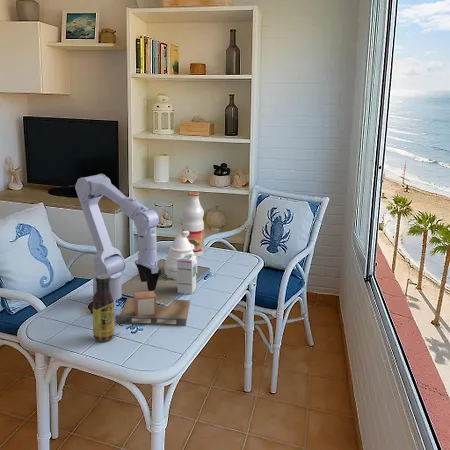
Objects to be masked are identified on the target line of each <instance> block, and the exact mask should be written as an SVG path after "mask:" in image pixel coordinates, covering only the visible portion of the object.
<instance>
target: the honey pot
mask: <svg viewBox="0 0 450 450" xmlns="http://www.w3.org/2000/svg"><path fill="white" fill-rule="evenodd" d="M188 235H189V231H183V230H182V234H181V233H180V234H178V235H177V236H176V237H175V238H174V240H173V241H172V243H171V244H169V246H168V249H169V250H168V253H167V256H166V259H165V261H164V274H165V273H166V274H167V275H169V276H172V277H177V259H178V258H179V257H180V256H181V254H193V255H195V254H194V252H193V249H194V245H193V244H191V243H190V242H189V241H188V239H187V238H186V237H187V236H188ZM196 273H197V274H198V259H196Z"/></svg>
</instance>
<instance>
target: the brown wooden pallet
mask: <svg viewBox="0 0 450 450" xmlns="http://www.w3.org/2000/svg"><path fill="white" fill-rule="evenodd" d="M172 300H173V301H172V302H171V303H170V304H169V305H168V306H159V305H156V316H136V315H135V310H134V297H127V298H126V301H125V303H124V305H123V308H122V309H121V311H120V314H116V315H115V323H116V324H133V325H158V326H159V325H162V326H163V325H164V326H183V327H184V326H187V321H188V315H189V310H190V305H191V300H190V299H188V300H187V299H172Z"/></svg>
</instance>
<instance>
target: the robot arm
mask: <svg viewBox="0 0 450 450" xmlns="http://www.w3.org/2000/svg"><path fill="white" fill-rule="evenodd" d="M74 188H75V191H76V195H77V197H78V200H79V203H80V206H81V209H82V213H83V215H84V218H85V220H86V223H87V226H88V230H89V233H90V234H91V238H92V241H93V243H94V246H95V249H96V254H95V255H94V256H93V258H92V261H93V265H94V269H93V270H94V272H95V275H94V276H93V280H92V291H93V292H92V293H93V294H92V295H93V296H94V295H95V293H96V291H97V290H96V288H97V286H96V285H97V283H96V276H97V275H100V274H107V275H109V276H110V281H109V287H110V292H111V295H112V298H113V300H114V301H117V300H119V299H121V298H122V296H123V293H122V290H123V289H122V274H124V273H123V271H124V270H126V267H127V265H126V264H127V263H126V260H125V258H124V256H123V255H122V253H121V251H120V250H119V249H118V248H116V247H114V246H113V244H112V241H111V238H110V235H109V232H108V230H107V226H106V224H105V221H104V218H103V215H102V212H101V209H100V207H99V202H100V200H101V199H102V197H103V196H104V197H106V198H107V199H109V200H111V201H113V202H114V203H115V204H117V205H118V206H119V209H120V211H121V213H123V214H124V215H125V216H127V217H128V218H130V219H131V220H132V221H133V224H134V225H135V227H136V228H135V229H136V233H137V238H138V241H137V242H138V252H137V259H136V260H134V264H135V266H136V268H137V271H138V274H139V279H140V282H141V283H146V285H147V290H148V291H154V292H155V291H156V289H157V285H158V280H159V278H160V276H161V274H162V270H161V269H159V267H158V258H157V257H158V256H157V226H159V225H160V222H161V215H160V214H159V212H158V211H157V210H156V209H155V208H149V207H147V206H145V205H143V204H142V203H141V202H139V201H138V200H137V198H136V197H135V196H133V197H132V196H126V195H125V194H124V193H122V191H120V190H119V189H118V188H117V187H116V186H115V185H114V184H112V182H111V179H110V178H109V177H108V176H106V175H105V174H104V173H98V174H95V175H90V176H84V177H80V178H78V179H77V181H76V183H75V186H74ZM93 296H92V297H93Z"/></svg>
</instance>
